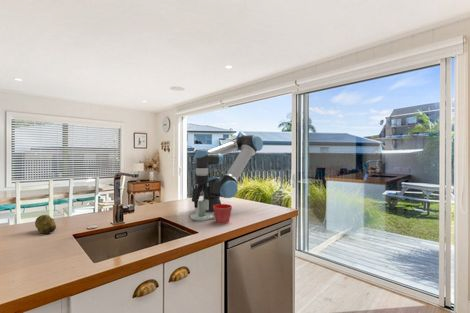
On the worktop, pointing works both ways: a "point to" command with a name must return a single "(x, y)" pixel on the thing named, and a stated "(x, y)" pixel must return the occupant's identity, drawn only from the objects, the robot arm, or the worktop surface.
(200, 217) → the lid
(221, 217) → the flower pot
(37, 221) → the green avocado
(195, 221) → the mat
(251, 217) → the worktop surface
